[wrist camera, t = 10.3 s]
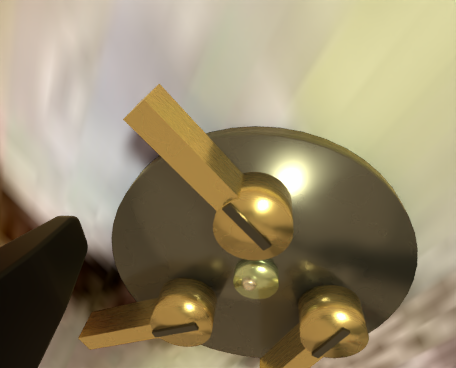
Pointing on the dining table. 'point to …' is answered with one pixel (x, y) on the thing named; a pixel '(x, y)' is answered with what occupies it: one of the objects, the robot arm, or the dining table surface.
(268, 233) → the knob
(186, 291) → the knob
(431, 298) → the dining table surface
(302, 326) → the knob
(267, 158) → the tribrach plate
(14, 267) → the robot arm
